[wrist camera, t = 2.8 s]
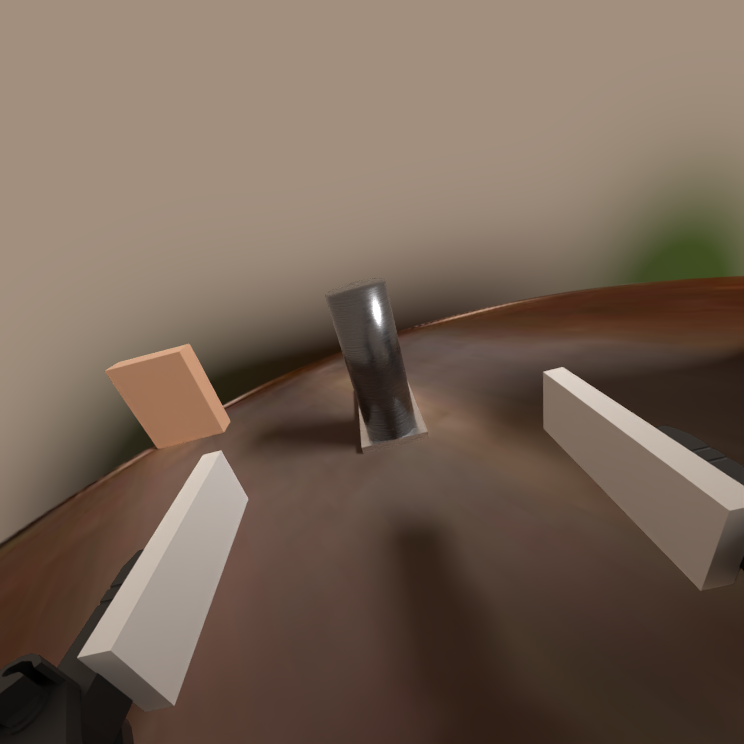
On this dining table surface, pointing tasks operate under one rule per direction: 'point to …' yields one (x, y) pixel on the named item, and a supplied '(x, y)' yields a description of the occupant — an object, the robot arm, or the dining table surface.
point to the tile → (170, 396)
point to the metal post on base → (375, 365)
